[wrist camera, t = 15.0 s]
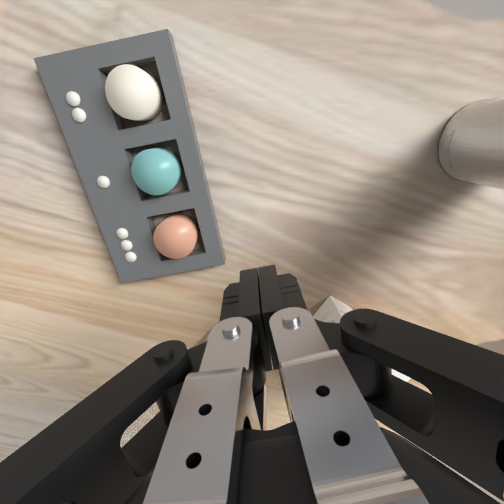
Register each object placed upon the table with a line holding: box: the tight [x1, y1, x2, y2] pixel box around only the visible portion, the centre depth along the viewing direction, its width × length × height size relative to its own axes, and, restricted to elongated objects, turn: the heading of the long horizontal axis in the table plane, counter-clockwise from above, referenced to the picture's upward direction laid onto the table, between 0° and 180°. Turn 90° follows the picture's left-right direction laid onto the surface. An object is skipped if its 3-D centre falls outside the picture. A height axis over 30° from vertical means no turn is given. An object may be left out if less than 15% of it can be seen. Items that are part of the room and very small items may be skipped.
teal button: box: [131, 148, 182, 195], centre depth 35 cm, size 5×5×3 cm
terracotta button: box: [153, 213, 199, 259], centre depth 38 cm, size 5×5×3 cm
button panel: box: [34, 29, 226, 283], centre depth 36 cm, size 14×26×2 cm, turn 11°
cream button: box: [105, 64, 163, 121], centre depth 32 cm, size 5×5×3 cm
